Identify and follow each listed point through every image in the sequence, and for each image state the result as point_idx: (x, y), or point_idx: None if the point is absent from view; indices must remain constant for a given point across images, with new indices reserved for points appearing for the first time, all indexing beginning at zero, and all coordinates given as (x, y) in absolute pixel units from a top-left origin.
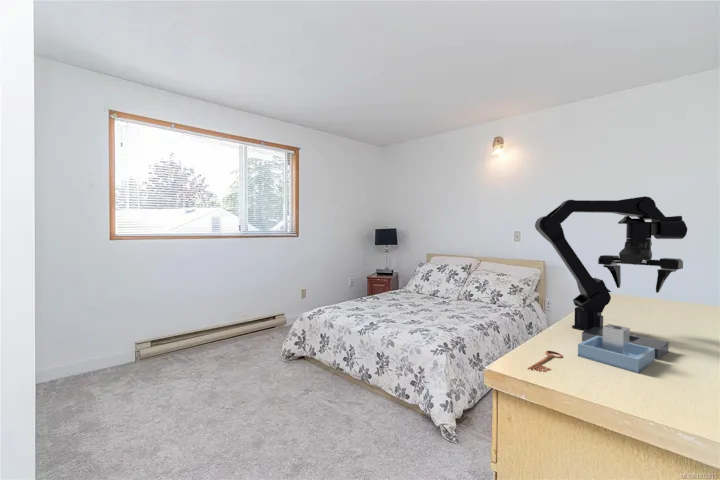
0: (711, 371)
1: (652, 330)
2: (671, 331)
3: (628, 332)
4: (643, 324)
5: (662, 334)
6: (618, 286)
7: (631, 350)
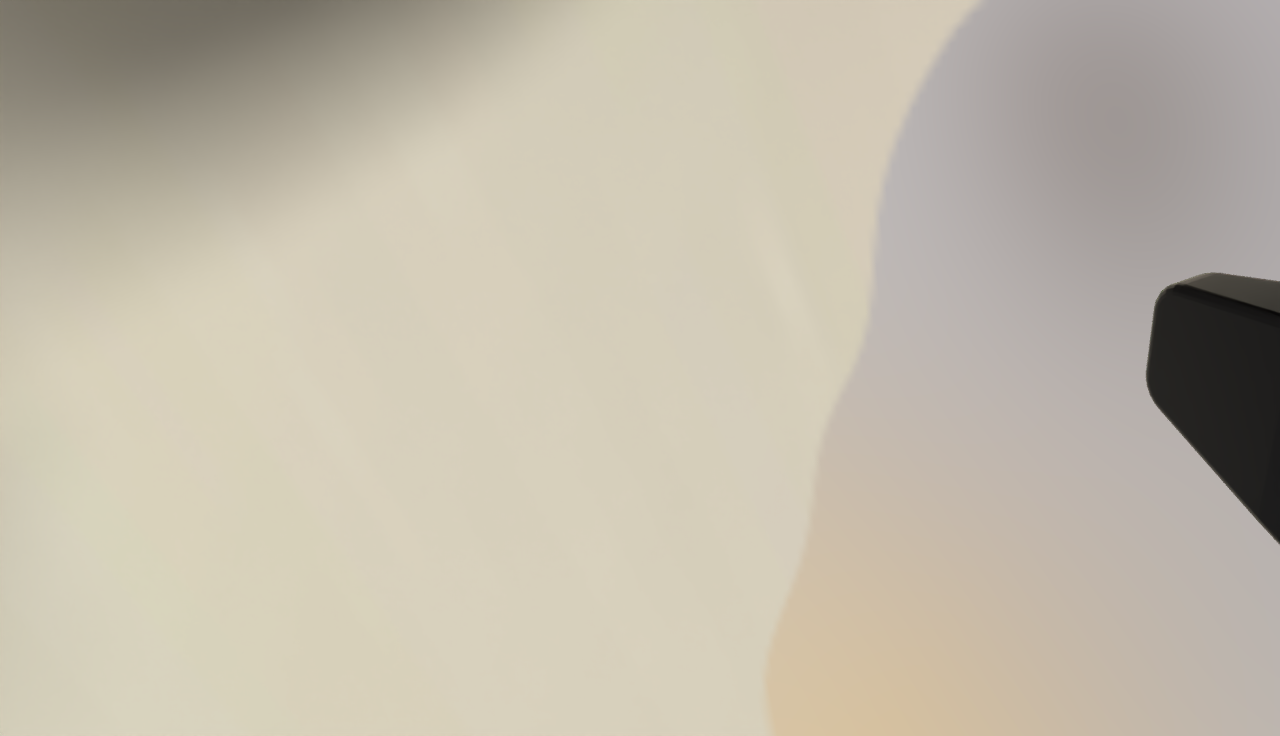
0: None
1: (321, 456)
2: (186, 661)
3: None
4: (559, 625)
5: (109, 383)
6: (1214, 294)
7: None
